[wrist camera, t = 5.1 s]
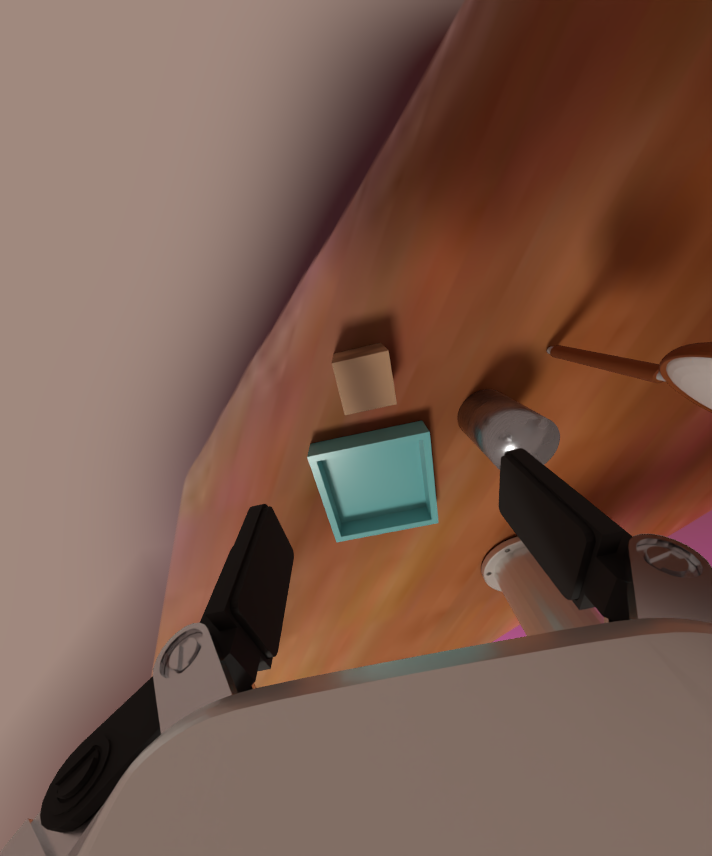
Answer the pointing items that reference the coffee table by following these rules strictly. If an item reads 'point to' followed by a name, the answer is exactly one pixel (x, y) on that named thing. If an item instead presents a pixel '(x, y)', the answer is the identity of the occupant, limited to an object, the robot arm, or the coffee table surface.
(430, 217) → the coffee table surface
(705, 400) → the magnifying glass
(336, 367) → the walnut block
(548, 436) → the metal tin
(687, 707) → the robot arm
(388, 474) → the teal tray
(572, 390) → the coffee table surface
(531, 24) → the coffee table surface
